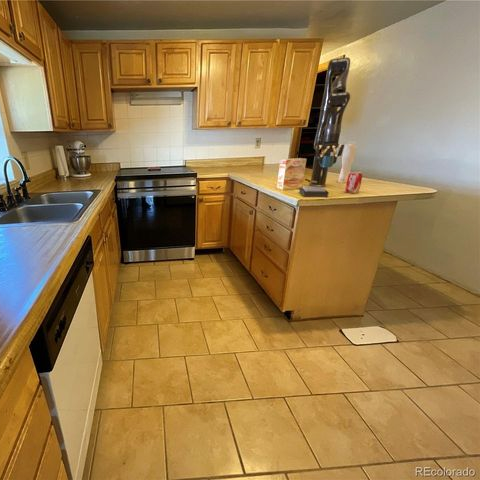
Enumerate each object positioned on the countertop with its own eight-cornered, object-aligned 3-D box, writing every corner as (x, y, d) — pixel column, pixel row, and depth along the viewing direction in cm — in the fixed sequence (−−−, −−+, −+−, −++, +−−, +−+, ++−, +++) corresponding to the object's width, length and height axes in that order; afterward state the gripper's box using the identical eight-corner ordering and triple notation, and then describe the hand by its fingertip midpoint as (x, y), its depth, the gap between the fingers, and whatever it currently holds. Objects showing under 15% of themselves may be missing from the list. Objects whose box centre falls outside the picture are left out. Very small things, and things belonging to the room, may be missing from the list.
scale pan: (302, 188, 165) (302, 186, 165) (320, 188, 162) (320, 186, 162) (306, 191, 156) (306, 189, 156) (325, 192, 154) (325, 189, 153)
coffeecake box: (282, 190, 176) (286, 159, 169) (276, 188, 183) (279, 159, 176) (302, 188, 179) (307, 158, 172) (295, 186, 185) (299, 157, 178)
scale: (298, 192, 168) (299, 187, 167) (321, 192, 165) (322, 187, 164) (303, 196, 156) (304, 191, 155) (328, 197, 152) (329, 192, 151)
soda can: (360, 193, 157) (365, 172, 153) (347, 193, 159) (352, 173, 154) (355, 191, 164) (359, 171, 159) (342, 191, 165) (346, 171, 161)
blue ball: (318, 166, 158) (320, 155, 156) (330, 166, 156) (332, 155, 154) (321, 167, 152) (323, 156, 150) (334, 167, 151) (336, 156, 149)
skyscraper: (346, 183, 188) (354, 141, 178) (334, 182, 194) (342, 141, 184) (351, 182, 192) (360, 141, 182) (340, 181, 198) (348, 141, 188)
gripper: (344, 132, 149) (338, 163, 155) (316, 133, 153) (311, 163, 159) (349, 132, 143) (343, 164, 149) (319, 133, 146) (314, 164, 152)
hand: (326, 163), depth 154 cm, fingers closed on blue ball, 6 cm apart
